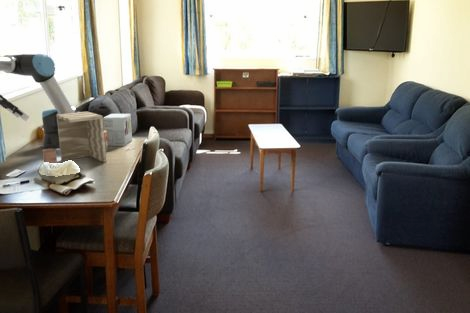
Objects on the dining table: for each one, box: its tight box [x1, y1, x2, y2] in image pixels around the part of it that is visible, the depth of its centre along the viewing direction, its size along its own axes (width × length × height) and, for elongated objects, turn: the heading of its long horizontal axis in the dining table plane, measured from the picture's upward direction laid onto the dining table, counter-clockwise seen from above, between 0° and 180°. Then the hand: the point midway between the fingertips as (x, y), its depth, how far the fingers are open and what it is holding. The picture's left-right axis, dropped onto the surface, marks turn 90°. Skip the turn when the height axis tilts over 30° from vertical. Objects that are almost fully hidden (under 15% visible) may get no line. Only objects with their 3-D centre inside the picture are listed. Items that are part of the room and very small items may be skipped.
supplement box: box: [103, 113, 133, 147], centre depth 297 cm, size 17×13×18 cm
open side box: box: [57, 111, 107, 163], centre depth 252 cm, size 21×17×26 cm
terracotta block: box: [42, 148, 58, 164], centre depth 240 cm, size 5×5×10 cm
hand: (23, 117), depth 231 cm, fingers open, 13 cm apart
